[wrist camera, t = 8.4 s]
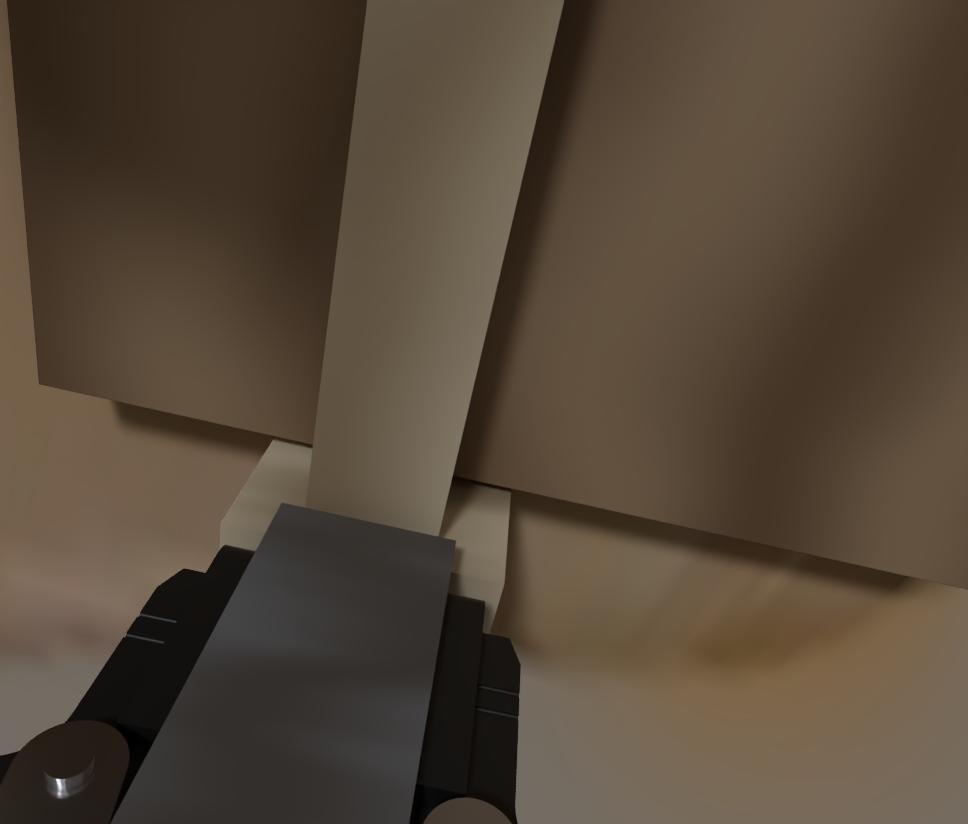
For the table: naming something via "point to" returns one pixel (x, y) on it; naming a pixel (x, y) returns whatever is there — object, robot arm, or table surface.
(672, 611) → the table surface
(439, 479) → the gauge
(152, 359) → the board
